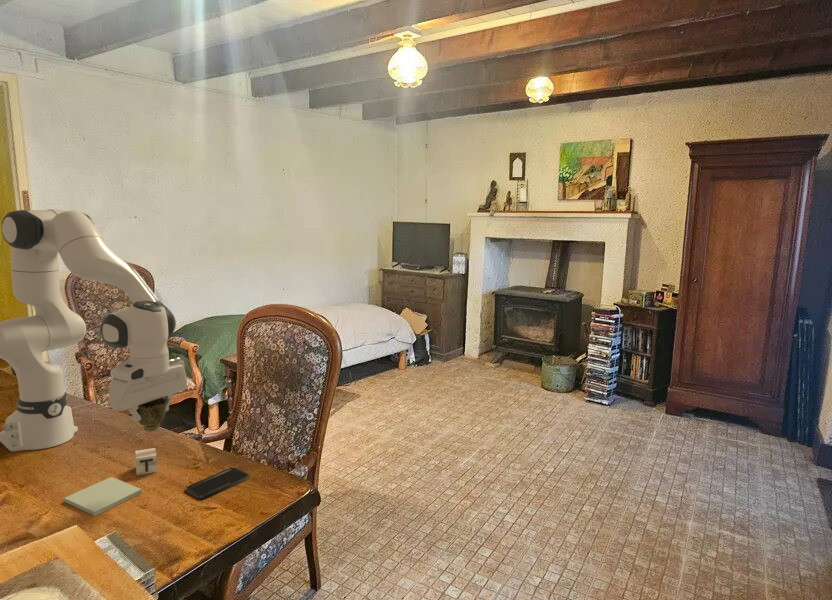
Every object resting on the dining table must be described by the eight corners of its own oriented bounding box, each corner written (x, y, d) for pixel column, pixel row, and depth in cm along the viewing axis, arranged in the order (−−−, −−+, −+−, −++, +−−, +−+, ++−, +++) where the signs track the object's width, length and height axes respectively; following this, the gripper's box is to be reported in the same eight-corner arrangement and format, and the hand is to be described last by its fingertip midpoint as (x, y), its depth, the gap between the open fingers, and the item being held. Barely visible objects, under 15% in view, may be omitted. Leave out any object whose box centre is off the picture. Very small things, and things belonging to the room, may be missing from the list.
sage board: (64, 501, 125) (64, 497, 125) (111, 480, 136) (111, 476, 136) (94, 515, 120) (94, 512, 120) (141, 492, 131) (141, 489, 131)
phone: (183, 487, 133) (233, 466, 145) (183, 491, 133) (233, 470, 146) (201, 498, 129) (250, 475, 141) (201, 502, 129) (250, 479, 141)
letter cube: (136, 467, 144) (135, 451, 143) (155, 464, 146) (155, 447, 145) (136, 476, 139) (135, 458, 138) (157, 472, 142) (156, 455, 141)
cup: (154, 437, 129) (153, 407, 128) (128, 433, 131) (127, 403, 129) (173, 425, 137) (172, 397, 135) (148, 422, 138) (147, 394, 137)
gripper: (175, 354, 142) (176, 401, 144) (103, 372, 123) (105, 426, 125) (192, 357, 139) (192, 406, 141) (120, 377, 121) (122, 432, 123)
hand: (151, 415), depth 133 cm, fingers closed on cup, 6 cm apart
